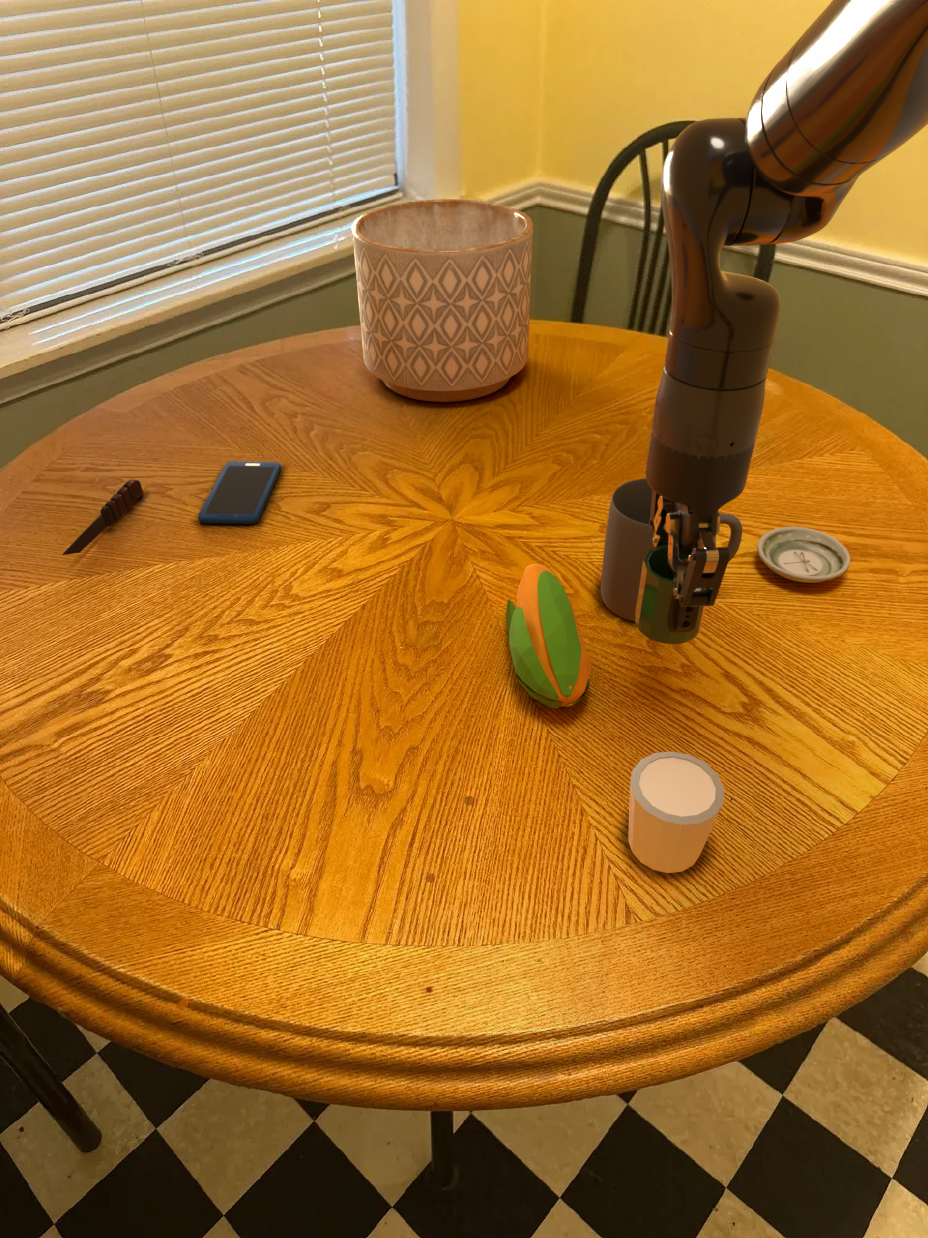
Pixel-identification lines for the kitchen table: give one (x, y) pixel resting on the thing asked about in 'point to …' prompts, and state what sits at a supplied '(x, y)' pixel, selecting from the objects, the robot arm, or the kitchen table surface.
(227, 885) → the kitchen table surface
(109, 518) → the knife
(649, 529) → the mug
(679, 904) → the kitchen table surface
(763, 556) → the saucer
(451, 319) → the planter
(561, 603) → the corn
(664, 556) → the green faceted cup
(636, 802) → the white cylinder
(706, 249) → the robot arm
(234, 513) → the cell phone
